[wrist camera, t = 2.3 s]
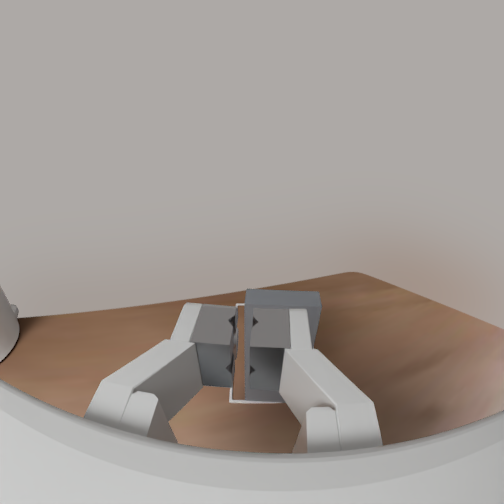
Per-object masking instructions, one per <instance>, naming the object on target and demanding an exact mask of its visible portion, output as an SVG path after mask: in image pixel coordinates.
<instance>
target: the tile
mask: <svg viewBox="0 0 504 504" xmlns="http://www.w3.org/2000/svg"><path fill="white" fill-rule="evenodd" d="M254 308H269V309H306V310H307V313H308V320H309V328H310V335H311V343H312V349H313V347H314V342H315V338H316V333H317V328H318V324H319V319H320V314H321V309H322V304H321V300H320V295H319V292H312V291H284V290H262V289H247V290H246V297H245V401H262V402H282V403H286V402H285V401H284V399H283V398H282V396H281V395H280V393H279V391H271V390H256V389H249V374H250V341H251V330H252V326H253V310H254Z"/></svg>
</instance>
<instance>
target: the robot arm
mask: <svg viewBox="0 0 504 504" xmlns="http://www.w3.org/2000/svg"><path fill="white" fill-rule="evenodd" d="M17 315H18V308H17V307H16V305H10V303H9V301H8V300H7V298H6V296H5V294H4V292H3V290H2V288H1V286H0V361H1V360H3V359H4V358H5V357H6V356H7V355H8V353H9V352H10V351H11V350H12V348H13V347H14V345H15V343H16V341H17V339H18V335H19V323H18V321H17ZM237 321H238V309H237V307H233V306H221V305H210V304H198V303H186V304H185V305H184V306H183V309H182V311H181V314H180V316H179V319H178V321H177V324H176V326H175V329H174V331H173V334H172V336H171V339H170V340H166V339H165V340H163V341H162V342H160V343H159V344H157V345H156V346H154V347H153V348H151V349H150V350H148V351H147V352H145V353H144V354H142V355H141V356H139V357H137V358H136V359H134V360H133V361H131V362H130V363H128V364H127V365H125V366H124V367H122V368H120V369H119V370H117V371H116V372H114V373H113V374H111V375H110V376H108V377H106V378H105V379H103V380H102V381H101V383H100V385H99V387H98V389H97V391H96V393H95V395H94V397H93V399H92V401H91V403H90V405H89V407H88V409H87V411H86V413H85V416H84V418H82V417H80V416H77V415H74V414H72V413H69V412H67V411H64V410H62V409H59V408H57V407H55V406H52V405H50V404H48V403H46V402H43V401H41V400H39V399H37V398H35V397H33V396H31V395H29V394H27V393H25V392H23V391H21V390H19V389H17V388H15V387H13V386H11V385H10V384H8V383H6V382H4V381H3V380H1V379H0V504H504V410H503V411H501V412H498V413H496V414H494V415H491V416H489V417H486V418H484V419H481V420H478V421H476V422H473V423H470V424H467V425H464V426H461V427H458V428H455V429H452V430H448V431H445V432H441V433H438V434H434V435H430V436H427V437H423V438H418V439H414V440H410V441H405V442H400V443H395V444H389V445H383V444H382V439H381V434H380V429H379V424H378V420H377V415H376V411H375V407H374V402H372V401H371V400H370V399H369V398H368V397H367V396H366V395H365V394H364V393H363V392H362V391H361V390H360V389H359V388H358V387H356V386H355V385H354V384H353V383H352V382H351V381H350V380H349V379H348V378H347V377H346V376H345V375H344V374H343V373H342V372H341V371H340V370H339V369H338V368H337V367H335V366H334V365H333V364H332V363H331V362H330V361H329V360H328V359H327V358H326V357H325V356H324V355H323V354H322V353H321V352H320V351H319V350H318V349H312V343H311V335H310V328H309V320H308V313H307V310H306V309H269V308H254V310H253V326H252V330H251V341H250V374H249V389H256V390H271V391H279V393H280V395H281V396H282V398H283V399H284V401H285V402H286V404H287V405H288V406H289V408H290V409H291V411H292V412H293V414H294V415H295V417H296V418H297V420H298V421H299V422H300V424H301V425H302V426H301V429H300V432H299V435H298V437H297V440H296V443H295V445H294V448H293V451H292V453H255V452H240V451H229V450H219V449H211V448H203V447H196V446H190V445H184V444H178V441H177V439H176V437H175V435H174V433H173V431H172V429H171V427H170V425H169V423H168V421H169V420H171V419H172V418H173V417H174V416H175V415H176V414H177V413H178V412H179V411H180V410H181V409H182V408H183V407H184V406H185V405H186V404H187V403H188V402H189V401H190V400H191V399H192V398H193V397H194V396H195V395H196V394H197V393H198V392H199V391H200V390H201V389H202V388H203V386H215V387H229V388H232V386H233V379H234V372H235V361H234V360H236V358H237V350H238V328H237Z"/></svg>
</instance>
